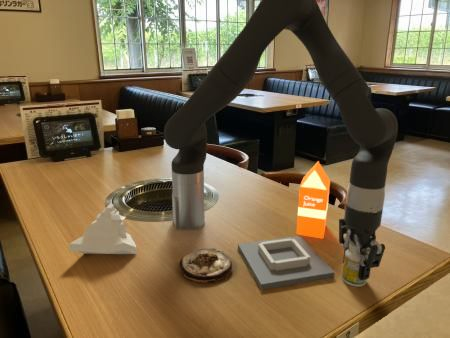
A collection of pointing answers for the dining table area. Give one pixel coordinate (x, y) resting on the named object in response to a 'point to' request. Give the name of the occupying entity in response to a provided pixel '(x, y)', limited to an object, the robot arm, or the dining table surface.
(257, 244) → the socket board
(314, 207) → the orange juice
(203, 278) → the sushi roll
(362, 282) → the supplement bottle
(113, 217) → the white jagged pyramid
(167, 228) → the dining table surface
